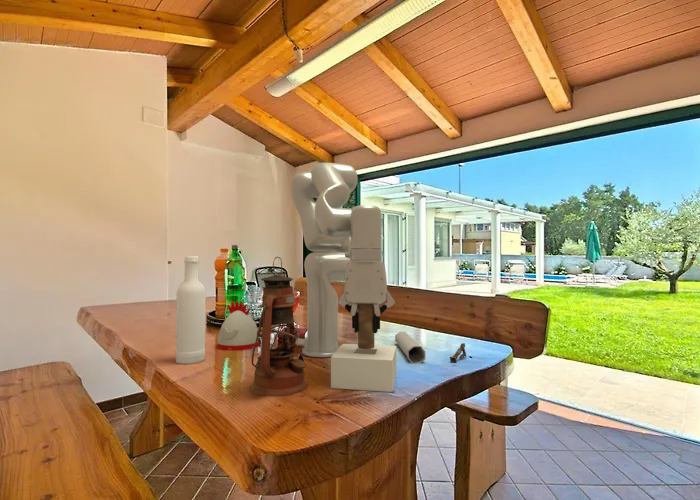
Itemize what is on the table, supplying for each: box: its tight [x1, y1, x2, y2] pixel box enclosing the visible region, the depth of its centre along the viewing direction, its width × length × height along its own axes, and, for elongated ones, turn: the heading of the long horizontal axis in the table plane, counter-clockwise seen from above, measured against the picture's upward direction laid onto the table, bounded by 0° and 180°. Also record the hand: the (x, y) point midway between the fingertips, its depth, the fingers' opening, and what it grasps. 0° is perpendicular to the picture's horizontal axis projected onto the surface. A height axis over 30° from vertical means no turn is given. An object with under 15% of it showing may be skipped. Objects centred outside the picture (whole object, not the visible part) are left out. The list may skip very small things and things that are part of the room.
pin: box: [357, 304, 375, 349], centre depth 94 cm, size 4×4×12 cm
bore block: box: [330, 343, 397, 393], centre depth 94 cm, size 14×14×7 cm
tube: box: [394, 331, 426, 364], centre depth 122 cm, size 5×5×25 cm
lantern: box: [250, 256, 308, 397], centre depth 90 cm, size 17×13×30 cm
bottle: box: [175, 255, 207, 365], centre depth 111 cm, size 8×8×30 cm
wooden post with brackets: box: [449, 342, 467, 364], centre depth 113 cm, size 2×8×4 cm, turn 138°
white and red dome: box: [216, 300, 260, 352], centre depth 130 cm, size 14×14×15 cm
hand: (366, 331), depth 94 cm, fingers closed on pin, 4 cm apart
